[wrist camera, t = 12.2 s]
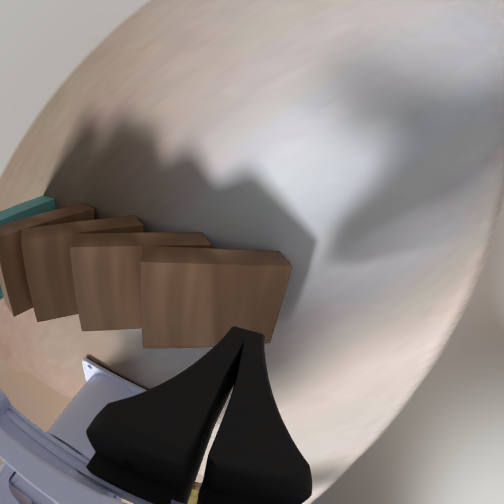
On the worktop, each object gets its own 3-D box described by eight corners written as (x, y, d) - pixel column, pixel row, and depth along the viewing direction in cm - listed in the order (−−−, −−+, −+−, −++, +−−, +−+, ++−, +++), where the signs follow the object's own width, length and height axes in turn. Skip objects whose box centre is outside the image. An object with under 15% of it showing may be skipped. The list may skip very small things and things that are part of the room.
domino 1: (55, 198, 17) (-20, 229, 11) (59, 260, 19) (-4, 302, 13) (43, 195, 17) (-30, 224, 11) (47, 255, 19) (-15, 294, 13)
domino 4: (211, 244, 15) (69, 247, 11) (201, 322, 17) (82, 331, 13) (202, 232, 16) (73, 233, 13) (193, 306, 18) (82, 313, 15)
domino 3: (143, 224, 15) (20, 240, 11) (141, 299, 17) (37, 322, 13) (134, 215, 16) (21, 229, 12) (132, 286, 18) (35, 306, 14)
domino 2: (94, 208, 16) (-5, 238, 10) (96, 277, 18) (13, 316, 12) (82, 202, 17) (-11, 229, 11) (85, 268, 19) (5, 304, 13)
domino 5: (292, 265, 14) (140, 262, 12) (269, 342, 16) (143, 347, 14) (279, 251, 15) (142, 245, 13) (261, 325, 17) (142, 328, 15)
